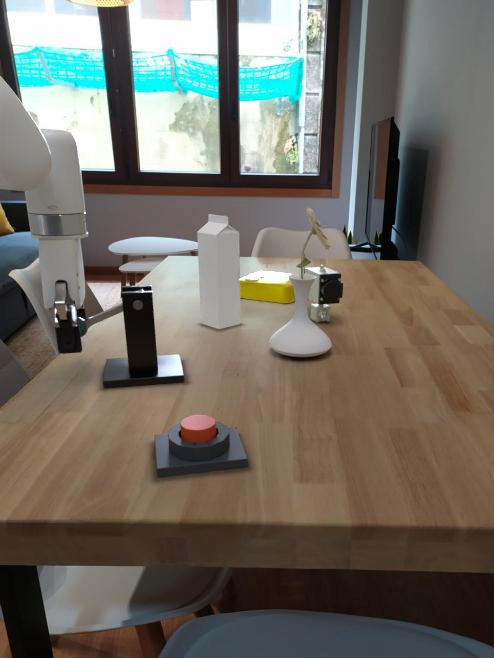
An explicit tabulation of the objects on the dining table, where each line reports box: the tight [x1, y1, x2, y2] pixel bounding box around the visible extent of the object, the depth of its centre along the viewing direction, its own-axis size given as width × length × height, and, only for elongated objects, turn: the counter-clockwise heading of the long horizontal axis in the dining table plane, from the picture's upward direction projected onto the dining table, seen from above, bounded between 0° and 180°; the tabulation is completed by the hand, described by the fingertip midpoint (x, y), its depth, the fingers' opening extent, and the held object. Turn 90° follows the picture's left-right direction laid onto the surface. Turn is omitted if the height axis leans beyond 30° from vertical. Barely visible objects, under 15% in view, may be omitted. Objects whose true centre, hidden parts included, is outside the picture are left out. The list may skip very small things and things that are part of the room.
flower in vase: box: [268, 206, 333, 358], centre depth 95 cm, size 13×11×25 cm
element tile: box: [240, 270, 295, 304], centre depth 139 cm, size 15×15×5 cm
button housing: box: [154, 420, 249, 479], centre depth 63 cm, size 10×8×3 cm
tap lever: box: [77, 288, 144, 338], centre depth 82 cm, size 13×3×3 cm, turn 105°
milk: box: [196, 213, 241, 330], centre depth 110 cm, size 6×6×22 cm
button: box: [180, 414, 217, 443], centre depth 63 cm, size 4×4×2 cm
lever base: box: [102, 284, 185, 389], centre depth 85 cm, size 12×10×14 cm
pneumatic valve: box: [303, 264, 344, 324], centre depth 116 cm, size 6×12×12 cm, turn 21°
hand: (74, 342), depth 83 cm, fingers open, 9 cm apart
